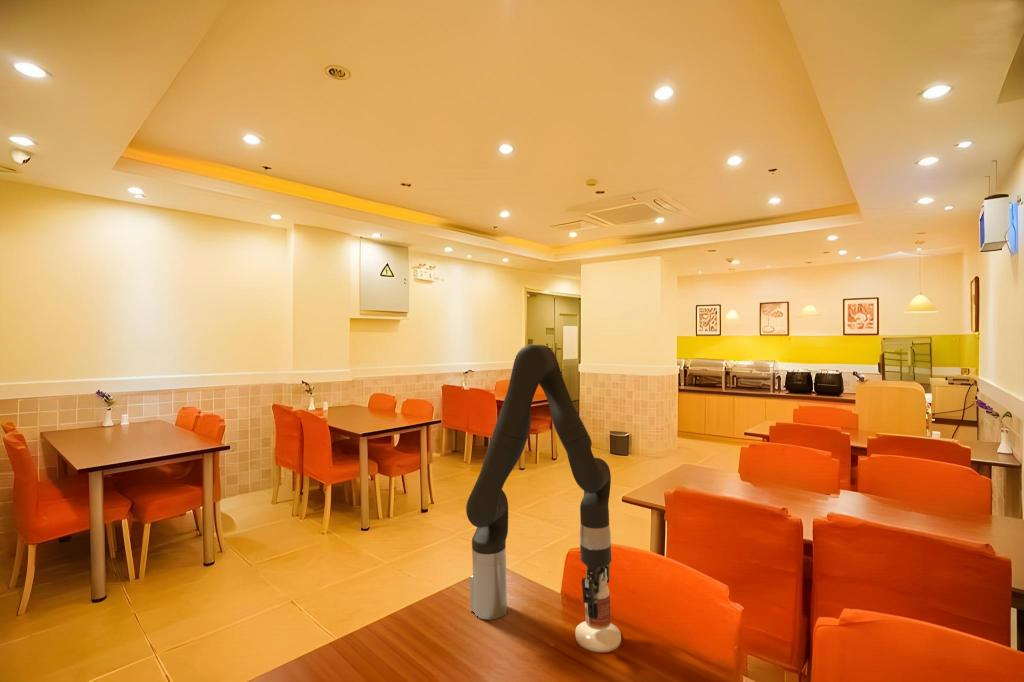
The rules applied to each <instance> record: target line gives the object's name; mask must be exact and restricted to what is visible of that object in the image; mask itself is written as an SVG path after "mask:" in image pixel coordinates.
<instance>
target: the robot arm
mask: <svg viewBox="0 0 1024 682" xmlns="http://www.w3.org/2000/svg"><path fill="white" fill-rule="evenodd" d="M510 374H511V375H510V379H509V384H508V386H507V387H508V388H507V390H506V391H507V392H506V395H505V397H504V400H503V403H502V405H501V408H500V412H499V413H498V417H497V420H496V422H495V425H494V428H493V432H492V435H491V438H490V441H489V443H488V447H487V449H486V453H485V456H484V459H483V463H482V467H481V470H480V471H479V475H478V477H477V480H476V482H475V484H474V486H473V488H472V490H471V492H470V495H469V497H468V499H467V501H466V507H465V508H466V509H465V511H466V512H465V513H466V517H467V519H468V521H469V522H470V523H471V525H472V526H474V527H475V528H476V530H475V532H474V533H473V536H472V538H471V550H472V551H471V553H472V554H471V555H472V559H471V560H472V574H470V576H469V602H470V607H469V608H470V610H471V611H473V612H474V613H475V614H474V613H473V612H472V613H473V614H474V616H476V617H477V616H478V617H477V618H478V619H481V620H486V621H487V620H490V621H491V620H497V619H500V618H501V617H504V616H505V614H506V613H507V611H508V589H507V586H508V585H507V550H506V549H507V548H506V546H507V545H506V543H507V542H506V541H507V537H508V532H509V502H508V498H507V495H506V493H505V491H504V490H503V487H504V485H505V483H506V481H507V479H508V478H509V476H510V474H511V473H512V471H513V470H514V468H515V467H516V465H517V464H518V462H519V460H520V458H521V456H522V454H523V453H524V449H525V446H526V444H527V441H528V438H529V434H530V432H531V431H530V430H531V425H532V423H531V422H532V405H533V404H532V403H533V401H534V398H535V394H536V392H537V390H538V387H539V386H540V388H541V389H542V391H543V393H544V395H545V397H546V400H547V403H548V407H549V411H550V415H551V420H552V421H551V422H552V424H553V427H554V430H555V432H556V434H557V436H558V438H559V440H560V443H561V444H562V446H563V448H564V450H565V452H566V454H567V455H566V456H567V458H568V464H569V466H570V467H569V468H570V470H571V473H572V477H573V479H574V480H575V482H576V484H577V486H578V487H579V488H580V489H581V490H582V491H583V498H582V499H581V502H580V507H579V510H580V511H579V514H580V517H579V518H580V525H579V526H580V529H579V546H580V547H579V549H580V551H579V554H580V561H581V562H582V564H584V565H585V566H586V571H585V577H586V578H585V577H582V578H581V587H582V588H581V589H582V601H583V603H584V604H585V603H588V616H589V617H590V618H593V619H597V617H598V606H597V599H598V593H600V590H601V581H602V580H603V577H606V582H607V583H606V586H607V587H608V588H609V586H608V584H609V583H610V581H611V580H610V570H611V569H610V566H611V565H610V564H611V563H612V537H611V536H612V535H611V534H612V533H611V528H610V510H609V502H610V493H611V492H610V491H611V481H612V476H611V469H610V466H609V464H608V463H607V462H606V461H605V460H604V459H602V458H600V457H595V456H594V454H593V451H592V446H593V445H592V444H593V441H592V439H591V436H590V435H589V433H588V430H587V429H586V427H585V424H584V423H583V421H582V418H581V417H580V415H579V413H578V411H577V409H576V407H575V405H574V403H573V400H572V398H571V395H570V394H569V391H568V388H567V385H566V383H565V380H564V378H563V375H562V371H561V368H560V365H559V362H558V359H557V357H556V354H555V352H554V351H553V349H551V348H550V347H549V346H546V345H543V344H529V345H525V346H524V347H523V346H522V348H521V349H520V350H519V351H518V352H517V354H516V356H515V358H514V362H513V366H512V371H511V373H510ZM594 586H597V588H596V589H595V588H594ZM594 593H595V595H594ZM590 596H591V597H590ZM471 611H470V612H471Z"/></svg>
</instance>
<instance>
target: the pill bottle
mask: <svg viewBox="0 0 1024 682" xmlns="http://www.w3.org/2000/svg"><path fill="white" fill-rule="evenodd" d="M606 583H607V582H606V577H603V580H602V581H601V590H600V593H598V599H597V606H598V617H597V619H593V618H590V617H589V616H588V603H584V614H585V616H584V617H585V619H584V620H585V621H586V624H587V625H588V626H589V627H591V628H593V629H597V630H603V629H606V628H608V627H609V626H610V624H612V619H611V618H612V616H611V615H612V614H611V591H610V588H609V586H608V585H607V586H608V587H607V586H606ZM607 584H608V583H607ZM594 588H595V589H596V588H597V586H594ZM594 595H595V593H594ZM590 597H591V596H590Z"/></svg>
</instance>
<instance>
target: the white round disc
mask: <svg viewBox="0 0 1024 682" xmlns="http://www.w3.org/2000/svg"><path fill="white" fill-rule="evenodd" d="M574 635H575V640H576V642H577V644H579V646H581V647H582V649H585V650H587V651H590V652H594V653H608V652H612V651H614V650H617V649H618V648H619V647H620V645H621V644H622V643H621V642H622V633H621V631H620V629H619V627H617V626H616V625H614V624H613V623H611V624H610V626H609V627H608V628H606V629H603V630H597V629H593V628H591V627H589V626H588V625H587V624H586V620H585V621H582V622H580V623H579V624H578V625H577V626H576V628H575V634H574Z"/></svg>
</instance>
